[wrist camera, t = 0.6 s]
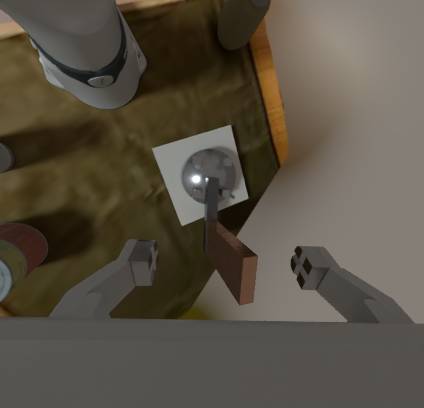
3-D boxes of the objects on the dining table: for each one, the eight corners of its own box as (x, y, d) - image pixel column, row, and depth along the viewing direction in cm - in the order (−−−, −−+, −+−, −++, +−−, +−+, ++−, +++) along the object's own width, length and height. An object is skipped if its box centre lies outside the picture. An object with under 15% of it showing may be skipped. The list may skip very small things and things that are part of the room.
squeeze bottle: (207, 18, 42) (247, -76, 25) (238, 13, 44) (295, -79, 27) (218, 59, 44) (261, -2, 28) (247, 52, 46) (303, -9, 29)
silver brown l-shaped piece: (180, 147, 43) (213, 134, 22) (231, 151, 48) (301, 143, 26) (180, 245, 49) (206, 313, 27) (225, 240, 53) (280, 296, 31)
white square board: (152, 149, 44) (152, 148, 42) (227, 126, 48) (230, 124, 46) (180, 223, 50) (182, 226, 48) (244, 196, 55) (248, 198, 52)
